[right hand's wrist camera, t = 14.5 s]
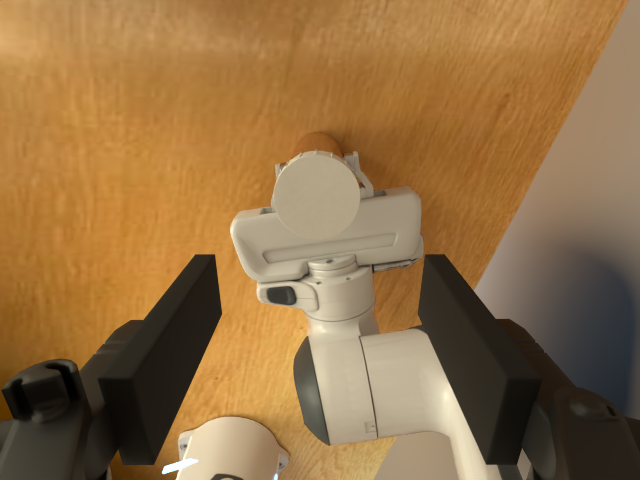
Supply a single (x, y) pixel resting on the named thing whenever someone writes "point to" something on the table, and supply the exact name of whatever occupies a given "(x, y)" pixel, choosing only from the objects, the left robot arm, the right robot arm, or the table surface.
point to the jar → (317, 144)
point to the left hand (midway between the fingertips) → (315, 158)
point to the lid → (316, 195)
